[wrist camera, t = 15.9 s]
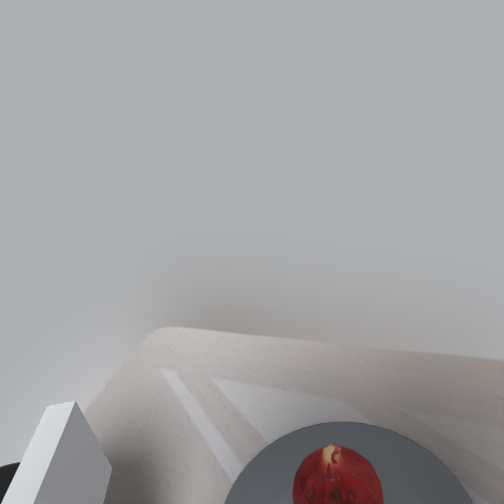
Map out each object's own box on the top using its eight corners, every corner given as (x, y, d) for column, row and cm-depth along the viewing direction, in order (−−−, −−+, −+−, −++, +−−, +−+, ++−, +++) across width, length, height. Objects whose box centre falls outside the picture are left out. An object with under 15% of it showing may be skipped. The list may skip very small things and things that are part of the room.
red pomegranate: (390, 580, 28) (382, 499, 24) (298, 572, 29) (276, 495, 25) (383, 490, 32) (375, 413, 29) (304, 487, 34) (287, 413, 30)
